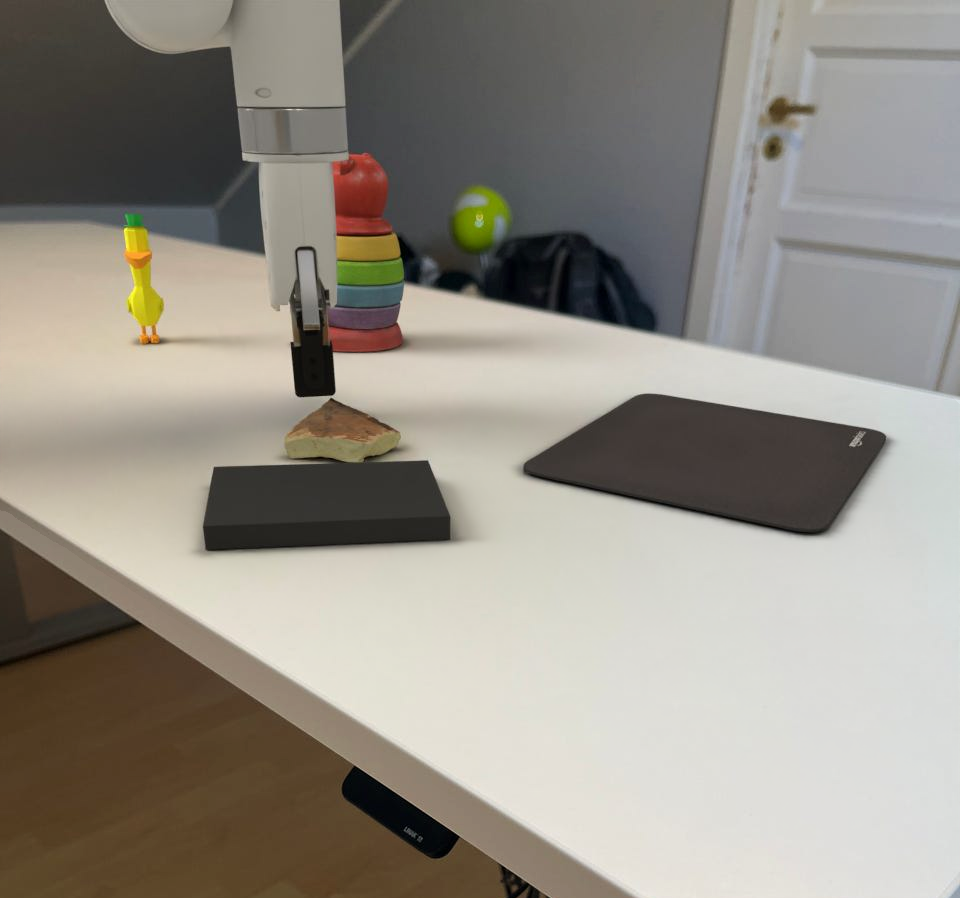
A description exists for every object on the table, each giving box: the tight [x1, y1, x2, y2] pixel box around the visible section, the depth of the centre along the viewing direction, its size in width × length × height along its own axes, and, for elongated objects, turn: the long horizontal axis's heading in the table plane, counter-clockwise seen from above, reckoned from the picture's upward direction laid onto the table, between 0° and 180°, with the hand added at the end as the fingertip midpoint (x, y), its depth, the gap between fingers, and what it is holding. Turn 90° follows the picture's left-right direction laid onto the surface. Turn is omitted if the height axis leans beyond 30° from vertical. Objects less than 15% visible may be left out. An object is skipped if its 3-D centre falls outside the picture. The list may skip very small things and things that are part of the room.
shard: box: [283, 397, 401, 463], centre depth 73 cm, size 11×8×2 cm
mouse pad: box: [522, 392, 887, 533], centre depth 73 cm, size 25×21×1 cm
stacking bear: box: [327, 152, 405, 353], centre depth 98 cm, size 11×10×18 cm
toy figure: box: [123, 213, 165, 345], centre depth 96 cm, size 7×4×12 cm, turn 14°
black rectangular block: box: [202, 459, 451, 551], centre depth 60 cm, size 14×10×2 cm
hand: (315, 393), depth 78 cm, fingers closed
